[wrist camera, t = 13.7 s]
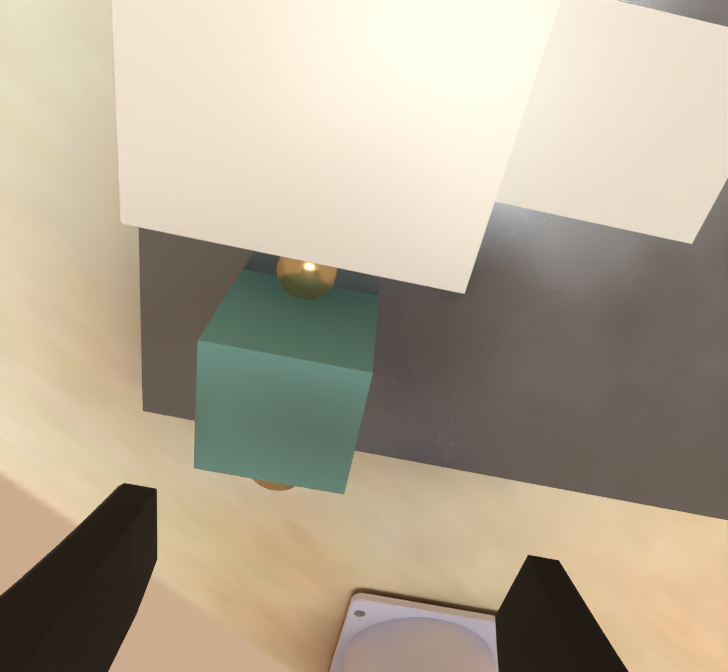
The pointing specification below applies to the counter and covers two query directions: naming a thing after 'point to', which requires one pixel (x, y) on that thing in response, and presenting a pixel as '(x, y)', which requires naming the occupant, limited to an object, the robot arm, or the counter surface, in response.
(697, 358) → the base plate
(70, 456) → the counter surface
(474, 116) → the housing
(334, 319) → the block
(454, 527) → the counter surface
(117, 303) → the counter surface
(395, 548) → the counter surface
